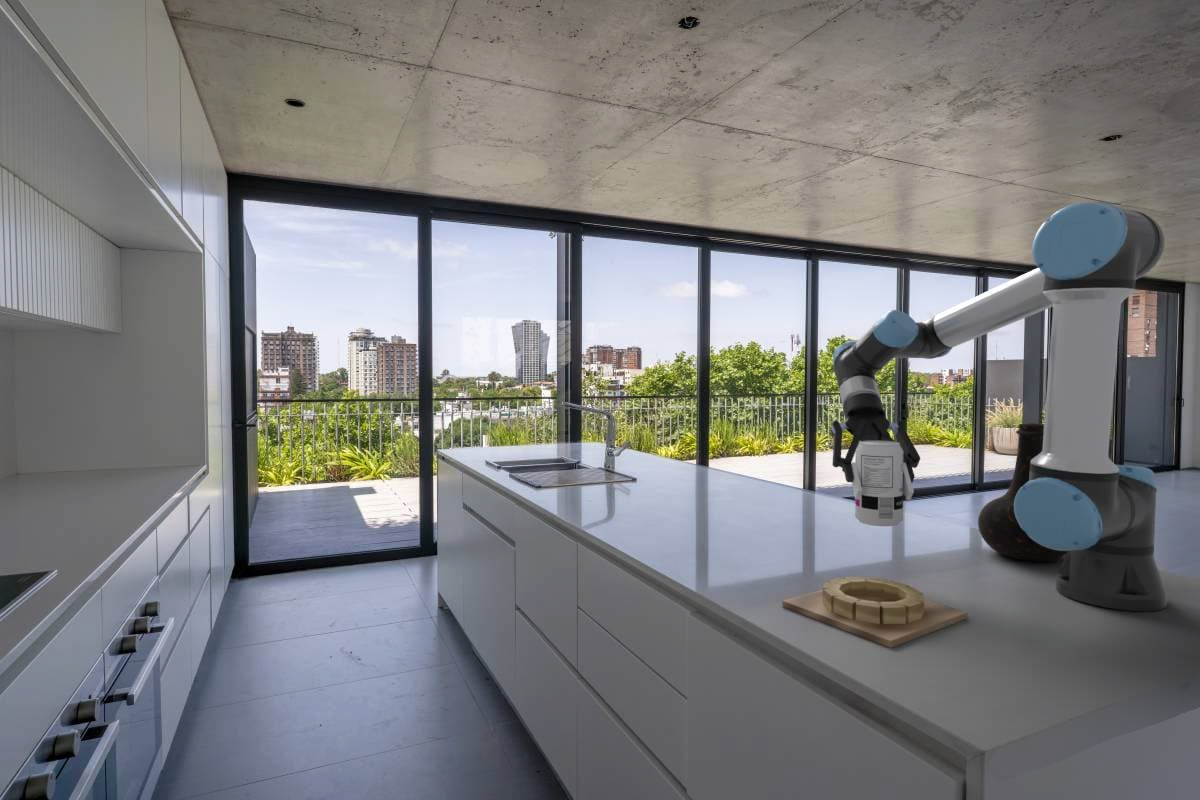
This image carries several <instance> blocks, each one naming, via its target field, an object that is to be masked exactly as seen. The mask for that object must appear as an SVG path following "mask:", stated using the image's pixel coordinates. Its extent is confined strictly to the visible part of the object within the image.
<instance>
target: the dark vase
mask: <svg viewBox="0 0 1200 800" xmlns="http://www.w3.org/2000/svg"><path fill="white" fill-rule="evenodd" d="M1018 428H1019V429H1018V430H1016V432H1015V433H1016V434H1017V435H1018V440H1017V442H1018V444H1017V451H1016V459H1015V465H1014V471H1013V475H1012V480H1011V483H1010V485H1009V488H1008V490H1007V491H1006V493H1005V494H1004V495H1002V496H1000V497H998V498H995V499H992V500H991V501H989V502H987V503H986V504H985V505H984V506H983V508H981V510H980V513H979V515H978V520H977V525H978V530H979V533H980V535H981V537H982V539H983V540H984V541H985V543H986V544H987V545H988V547H990V548H991V549H992V551H993V550H994V551H995V552H996V553H998V554H1000V555H1003V556H1005V557H1008V558H1013V559H1016V560H1021V561H1029V562H1030V561H1031V562H1044V563H1045V562H1052V561H1056V560H1058V559H1061V558H1064V557H1065V554H1066V552H1067V551H1059V550H1053V549H1050V548H1047V547H1044V546H1042V545H1040V544H1038V543H1037V542H1035V541H1034V540H1032V539H1031V538H1030V537H1029V536H1028V535H1027V534H1026V532H1025V531H1024V530H1023V529H1022V528H1021V527H1020V525H1019V523H1018V521H1017V519H1016V516H1015V513H1014V500H1015V496H1016V494H1017V492H1018V491H1019V489H1020V488H1021V487H1022V486H1023V485H1024V484H1026V483H1027V482H1028V481H1029V474H1030V462H1031V459H1033V458H1034V457H1036V456H1037V455H1039V454H1040V453H1041V452H1042V449H1043V436H1044V424H1041V423H1034V422H1033V423H1019V424H1018Z"/></svg>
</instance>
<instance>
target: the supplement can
mask: <svg viewBox="0 0 1200 800" xmlns="http://www.w3.org/2000/svg"><path fill="white" fill-rule="evenodd" d="M855 462H856V465H857V469H858V474H859V479H860V483H861V488H862V493H861V496H860V499H855V498H854V502H855V503H854V504H855V505H854V506H855V508H854V510H855V511H854V512H855V513H854V515H855V516H854V517H855V518H856V519H857V520H858V522H859V523H862V524H864V525H868V526H874V527H895V526H898V525H900V523H901V522H902V521H904V491H903V450H902V448H901V446H900V443H898V441H895V442H892V441H861V440H860V441H859V444H858V446H857V448H856V452H855Z"/></svg>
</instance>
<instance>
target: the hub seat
mask: <svg viewBox="0 0 1200 800" xmlns="http://www.w3.org/2000/svg"><path fill="white" fill-rule="evenodd" d="M781 602H782V603H781V604H782V605H781V606H782V607H783V608H785V609H788V610H791V611H793V612H796V613H798V614H801V615H804V616H807V617H808V618H812V619H814V620H817V621H819V622H821V623H824V624H827V625H829V626H833V627H835V628H838V629H840V630H843V631H846V632H847V633H850V634H854V635H856V636H858V637H861V638H864V639H866V640H869V641H872V642H873V643H876V644H877V643H878V644H880V645H882V646H885V647H887V648H890V649H891V648H894V647H896V646H900V645H901V644H904V643H907V642H909V641H912V640H915V639H917V638H921V637H922V636H925V635H929V634H930V633H933V632H936V631H938V630H941V629H943V628H946V627H949V626H952V625H954V624H957V623H959V622H961V621H964V619H965V620H967V619H968V611H965V610H961V609H957V608H954V607H951V606H948V605H945V604H941V603H939V602H934V601H931V600H928V599H925V594H924V593H923V592H922V591H920V590H918V589H916V588H915V587H913V586H910V585H909V584H905V583H902V582H898V581H895V580H892V579H891V580H888V579H885V578H877V577H871V576H865V577H864V576H844V577H837V578H834V579H833V578H832V579H830V580H828V581H826V582H824V584H823V587H822V589H819V590H816V591H813V592H808V593H805V594H802V595H798V596H795V597H791V598H787V599H784V600H782V601H781ZM951 624H952V625H951Z"/></svg>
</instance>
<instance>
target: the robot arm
mask: <svg viewBox="0 0 1200 800" xmlns="http://www.w3.org/2000/svg"><path fill="white" fill-rule="evenodd" d="M1031 246H1032V247H1031V254H1032V258H1033V262H1034V264H1035V266H1037V267H1036V268H1034V269H1032V270H1030V271H1028V272H1026V273H1024V274H1021V275H1019V276H1017V277H1014V278H1013V279H1011V280H1009V281H1007V282H1004V283H1002V284H1000V285H998V286H996V287H994V288H991V289H990V290H987V291H985V292H983V293H980V294H978V295H977V296H975V297H973V298H970V299H968V300H965V301H964V302H961V303H959V304H958V305H955V306H953V307H951V308H949V309H947V310H944V311H943V312H940V313H938V314H937V315H934V316H932V317H929V318H928V319H926V320H923V321H921V322H916V321H915V320H914V319H913V318H912V317H911V316H910V315H909V314H908V313H906V312H902V311H901V310H898V309H891V310H888V311H887V312H886V313H885V314H883V316H881V317H880V318H878V320H876V321H875V322H874V324H872V326H871V327H870V328H869V329H868V330H867V331H866V332H865V333H864V334H863V335H862V336H861V337H860V338H859V339H858V340H857V341H855V340H853V341H851V340H850V341H847V342H845V343H844V344H840V345H838V346H837V347H836V348H835V350H834V352H833V354H832V363H833V372H834V374H835V378H836V382H837V387H838V392H839V396H840V400H841V405H842V410H843V414H844V419H845V422H839V421H838V420H834V421H832V425H831V429H830V431H831V434H832V436H833V445H832V447H833V449H832V466H833V467H834V468H838V467H839V468H841V470H842V473H844V476H845V477H844V478H845V481H846V482H847V483H851V485H852V489H853V496H854V500H855V499H860V496H861V493H862V488H861V483H860V479H859V474H858V469H857V465H856V461H853V459H854V456H855V455H856V448H857V447H858V445H859V442H860V441H892V442H898V443H900V446H901V448H902V450H903V496H904V497H905V498H904V499H905V501H911V499H912V497H913V495H914V492H915V491H914V487H913V484H912V483H913V482H914V480H915V472H914V470H913V469H916V468H917V467H918V465H919V463H920V460H921V456H920V454H919V452H918V450H917V448H916V447H915V445H914V444H913V442H912V440H911V437H910V436H909V434H908V433H907V431H906V425H905V421H903V420H898V422H897V423H896V422H890V420H889V419H887V417H886V413H885V409H884V407H883V405H884V404H883V402H882V399H881V394H880V392H879V391H880V390H879V388H878V383H877V380H876V374H877V373H878V372H880V371H881V370H882V369H883V368H884V367H886V366H887V365H888V364H889V363H890V362H891V361H892V360H893V359H926V360H933V359H935V358H942V357H944V356H946V355H948V354H949V353H950V352H951V350H952V349H953V348H954V347H957V346H960V345H962V344H965V343H967V342H969V341H972V340H974V339H977V338H979V337H981V336H984V335H986V334H989V333H992V332H993V331H996V330H999V329H1001V328H1004V327H1006V326H1008V325H1011V324H1014V323H1016V322H1018V321H1021V320H1023V319H1025V318H1028V317H1031V316H1033V315H1036V314H1038V313H1040V312H1043V311H1045V310H1047V309H1050V308H1052V321H1051V332H1050V333H1051V334H1050V343H1049V344H1050V347H1049V360H1048V374H1047V385H1046V399H1045V409H1044V410H1045V412H1044V424H1043V425H1044V436H1043V449H1042V452H1041V453H1040V454H1039V455H1037V456H1036V457H1034V458H1033V459H1031V462H1030V474H1029V481H1028V482H1027V483H1026V484H1024V485H1023V486H1022V487H1021V488H1020V489H1019V491H1018V492H1017V494H1016V496H1015V500H1014V513H1015V516H1016V519H1017V521H1018V523H1019V525H1020V527H1021V528H1022V529H1023V530H1024V531H1025V532H1026V534H1027V535H1028V536H1029V537H1030V538H1031V539H1032V540H1034V541H1035V542H1037V543H1038V544H1040V545H1042V546H1044V547H1047V548H1050V549H1053V550H1059V551H1067V552H1066V554H1065V555H1064V556H1063V559H1062V562H1061V564H1060V566H1059V569H1058V571H1057V573H1056V575H1055V576H1056V577H1055V589H1056V591H1057V593H1060V594H1061V595H1062V596H1065V597H1067V598H1070V599H1072V600H1074V601H1078V602H1081V603H1084V604H1088V605H1092V606H1098V607H1101V608H1107V609H1114V610H1119V611H1121V610H1122V611H1130V612H1132V611H1133V612H1153V611H1161V610H1163V609H1165V608H1166V607H1167V604H1168V603H1167V598H1168V593H1167V589H1166V586H1165V584H1164V581H1163V579H1162V576H1161V574H1160V570H1159V568H1158V565H1157V563H1156V560H1155V534H1156V533H1155V532H1156V501H1157V499H1156V498H1157V492H1158V487H1157V485H1156V482H1157V481H1156V475H1155V472H1154V471H1153V470H1152V469H1150V468H1148V467H1142V466H1133V465H1123V464H1115V462H1113V461H1112V460H1111V459H1110V457H1109V451H1110V450H1109V449H1110V448H1109V447H1110V437H1111V424H1112V415H1113V414H1112V413H1113V402H1114V401H1113V400H1114V390H1115V377H1116V366H1117V365H1116V364H1117V356H1118V355H1117V354H1118V342H1119V332H1120V320H1121V305H1122V303H1123V302H1124V301H1125V300H1126V299H1127V298H1128V297H1130V296H1131V295H1132V294H1134V293H1135V290H1136V280H1138V279H1140V278H1142V277H1144V276H1146V275H1147V274H1148V273H1149V272H1150V271H1151V270H1153V269H1154V267H1155V266H1156V265H1157V264H1158V263H1159V261H1160V259H1161V257H1162V255H1163V254H1164V251H1165V235H1164V231H1163V229H1162V228H1161V226H1160V224H1159V223H1158V222H1157V221H1156V220H1155V219H1154V218H1153V217H1152V216H1150V215H1148V214H1146V213H1144V212H1141V211H1139V210H1138V211H1137V210H1133V209H1132V210H1131V209H1128V208H1127V209H1126V208H1123V207H1118V206H1116V205H1114V204H1112V203H1108V202H1103V201H1100V202H1097V201H1096V202H1092V201H1083V202H1077V203H1072V204H1070V205H1067V206H1064V207H1062V208H1060V209H1059V210H1057V211H1055V212H1054V213H1052V214H1051V215H1050V216H1049V217H1048V218H1047V219H1046V220H1045V221H1044V222H1043V223H1042V224H1041V225H1040V226H1039V228H1038V230H1037V231H1036V234H1035V235H1034V238H1033V242H1032V245H1031ZM888 430H890V431H891V433H892V434H893V436H895V438H896V440H897V441H895V440H894V439H893V437H892V436H891V434H890V431H888ZM845 431H847V432H848V433H849V434H850V435H851V436H852V439H851V442H850V444H849V447H848V451H847V453H846V455H845V457H842V441H843V434H844V432H845Z"/></svg>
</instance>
